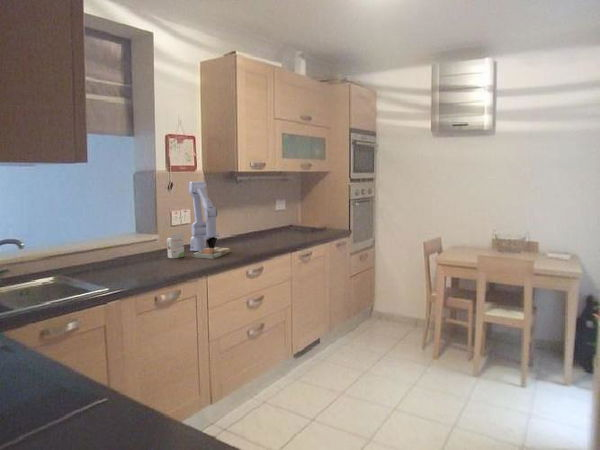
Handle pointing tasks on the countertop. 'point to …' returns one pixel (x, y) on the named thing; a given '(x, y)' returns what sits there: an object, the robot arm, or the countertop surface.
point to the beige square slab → (221, 250)
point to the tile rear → (208, 250)
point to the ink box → (175, 245)
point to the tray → (206, 255)
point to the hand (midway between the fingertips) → (211, 249)
